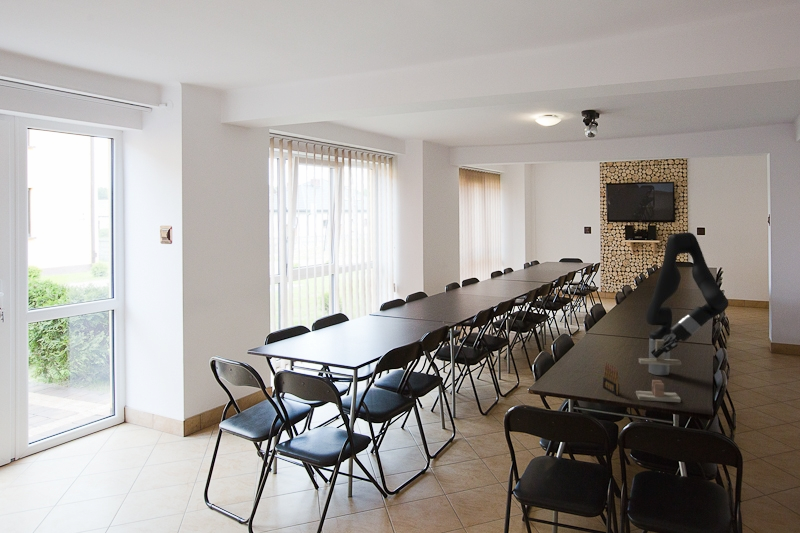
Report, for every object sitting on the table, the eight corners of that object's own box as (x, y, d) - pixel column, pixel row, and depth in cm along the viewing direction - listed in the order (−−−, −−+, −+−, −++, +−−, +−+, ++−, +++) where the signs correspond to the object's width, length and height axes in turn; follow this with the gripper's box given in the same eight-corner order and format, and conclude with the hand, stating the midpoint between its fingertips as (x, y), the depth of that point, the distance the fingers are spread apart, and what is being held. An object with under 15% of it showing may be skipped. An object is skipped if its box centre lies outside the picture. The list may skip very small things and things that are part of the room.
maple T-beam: (638, 361, 237) (639, 338, 236) (678, 363, 233) (679, 340, 232) (640, 363, 233) (640, 340, 232) (681, 365, 229) (682, 342, 228)
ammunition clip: (619, 395, 239) (620, 368, 238) (615, 395, 239) (616, 368, 238) (606, 387, 250) (606, 361, 249) (602, 387, 249) (603, 362, 248)
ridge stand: (635, 394, 240) (636, 378, 239) (675, 396, 236) (675, 380, 236) (639, 400, 232) (639, 383, 232) (680, 402, 229) (680, 385, 228)
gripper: (674, 318, 236) (643, 345, 240) (683, 324, 223) (650, 353, 227) (687, 331, 236) (656, 357, 240) (697, 337, 222) (663, 366, 226)
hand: (653, 355), depth 233 cm, fingers closed on maple T-beam, 3 cm apart
